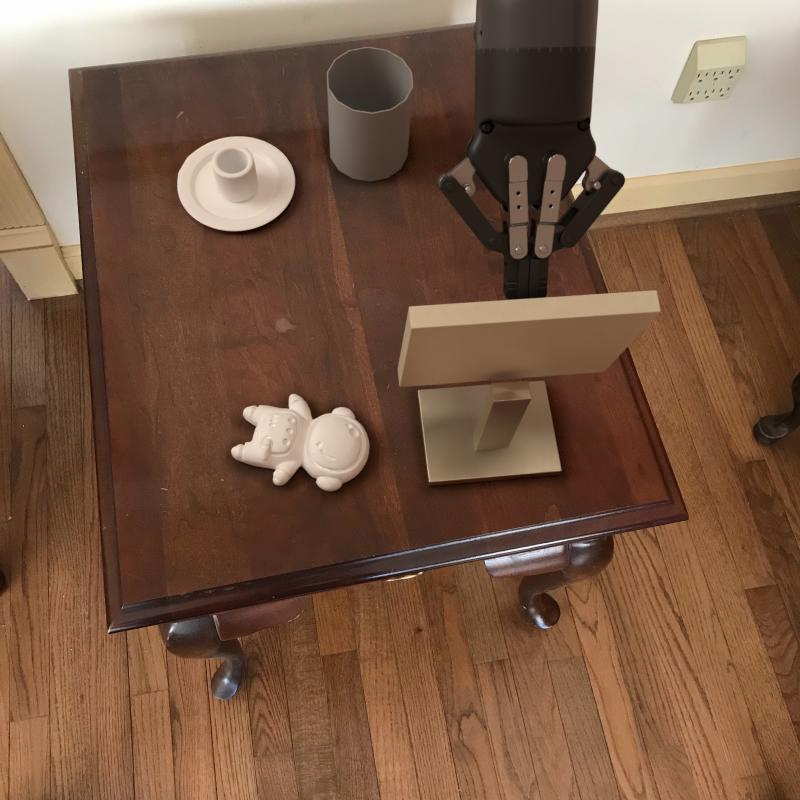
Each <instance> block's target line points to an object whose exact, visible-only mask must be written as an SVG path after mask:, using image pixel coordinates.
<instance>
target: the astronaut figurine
mask: <svg viewBox="0 0 800 800" xmlns="http://www.w3.org/2000/svg"><path fill="white" fill-rule="evenodd" d="M242 416H243V418H244V419H245V421H247V422H248V423H250V424H251V425H253V426H254V427H255V429H254V431H253V434H252V439H251V441H246V442H244V444H243V443H240V444H239V443H238V444H237V445H235V446H233V447H232V448H231V450H230V454H231V456H232V457H233V458H234V459H235V460H236V461H238V462H240V463H241V462H242V463H244V464H247V465H250V466H254V467H258V468H264V469H270V470H271V469H272V470H274V472H273V474H272V477H273V478H272V483H273V484H274V485H275V486H284V485H286V484H287V483H288V482H289V480H291V478H292V477H293V476H294V475H295V474H296V472H297V471H298V469H299V468H300V467H301V468H303V470H304V471H305V472H306V473H307V474H308V475H309V476H310V477H312V478H313V479H315V480H316V481H315V484H316V485H317V486H318V488H320V490H323V491H326V492H335V491H338V490H339V489H340V488H341V487H342V486H343V484H345V483H347V482H350V481H351V480H352V479H354V478H356V477H357V476H358V475H359V474H360V473H361V471H362V470H363V469H364V467H365V466H366V464H367V462H368V459H369V454H370V440H369V437H368V433H367V431H366V429H365V427H364V426H363V425H362V424H361V423H360V422H359V421H358V419H356V416H355V414H354V412H353V411H352V410H351V409H350V408H348V407H343V406H340V407H336V408H334V409H333V410H332V411H331V413H330V412H329V413H324V414H322V415H319V416H318V417H316V418H314V419H313V416H312V411H311V409H310V407H309V405H308V402H307V401H306V400H304V398H303V397H302V396H300V395H298V394H297V393H291V394H290V395H289V397H288V408H283V407H276V406H272V405H265V404H259V405H258V406H257V405H250V406H246V407H244V409H243V411H242Z"/></svg>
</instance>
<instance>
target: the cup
mask: <svg viewBox="0 0 800 800" xmlns="http://www.w3.org/2000/svg"><path fill="white" fill-rule="evenodd" d="M326 86H327V91H326V92H327V112H328V113H327V115H328V135H329V136H328V139H329V157H330V160H331V161H332V163H333V164H334V166H335V167H336V169H337V170H338V171H339V172H341V173H343V174H344V175H346V176H348V177H349V178H350V179H352V180H357V181H364V182H368V183H369V182H370V183H371V182H377V181H380V180H385V179H389V178H390V177H391V176H393V175H394V174H396V173H397V172H398V171H400V170H401V169H402V168H403V165H404V163H405V162H406V160H407V158H408V153H409V142H410V131H411V119H412V106H413V94H414V79H413V71H412V70H411V68H410V67H409V65H408V64H407V62H406V61H405V60H404V59H403V58H402V57H400V56H399V55H397V54H395V53H394V52H392V51H390V50H388V49H385V48H379V47H372V46H363V47H359V48H354V49H349V50H347V51H345V52H344V53H342V54H341V55H338V57H336V58H334V60H333V61H332V62H331V65H330V67H328V70H327V72H326Z"/></svg>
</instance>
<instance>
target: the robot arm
mask: <svg viewBox="0 0 800 800" xmlns="http://www.w3.org/2000/svg"><path fill="white" fill-rule="evenodd" d="M475 2H476V3H475V22H474V24H473V25H474V26H473V40H474V44H475V45H474V46H475V48H474V112H473V115H474V117H473V119H474V120H473V131H472V134H471V137H470V139H469V141H468V142H467V144H466V148H465V158H464V159H462V160H461V161H460V162H459V163H457V164H456V165H455V166H454V167H452V169H450V170H449V171H448V172H447V171H444V172H441V173H439V174H438V175H437V176H436V178H435V185H436V187H437V188H438V189H439V191H440V192H441V194H442V195H443V196H444V197H445V199H446V200H447V201H448V202H449V204H450V205H451V206H452V207H453V209H454V210H455V211H456V212H457V214H458V215H459V216H460V218H461V219H462V220H463V222H464V223H465V224H466V225H467V226H468V229H470V230H471V231H472V233H473V234H474V235H475V236H476V238H477V239H478V241H479V242H480V243H481V244H482V245H483V246H484V247H485V248H486V250H488V251H491V252H497V253H500V254H502V255H503V275H502V276H503V278H502V292H503V295H504V298H505V300H516V299H531V298H546V297H547V295H548V279H549V261H550V258H551V256H552V255H553V253H555V252H556V251H560V250H561V249H562V250H563V249H564V248H565V249H572V248H574V247H575V246H576V245H577V244H578V243H579V242H580V240H581V239H582V238H583V236H584V235H585V234H586V233H587V232H588V230H589V229H590V228H591V227H592V225H593V224H594V223H595V222H596V221H597V219H598V218H599V217H600V216H601V215H602V213H603V212H604V210H606V208H607V207H608V206H609V204H610V203H611V202H612V200H614V198H615V197H616V196H617V194H618V193H619V192H620V191H621V189H622V188H623V187H624V186H625V183H626V177H625V175H624V174H623V173H622V172H621V171H619V170H617V169H614V168H611V167H610V166H609V165H608V164H607V163H606V162H604V161H603V160H602V159H601V158H600V157H599V156H597V155H596V154H597V144H596V141H595V139H594V137H593V134H592V129H591V121H592V109H593V96H594V95H593V94H594V79H595V67H596V66H595V65H596V51H597V50H596V49H597V37H598V36H597V35H598V21H599V19H598V18H599V2H600V1H599V0H476V1H475ZM474 174H476V176H478V178H479V179H480V181H481V182H482V184H483V185H484V187H485V188H486V189H487V191H488V192H489V194H490V195H491V196H492V198H493V199H494V200H496V201H497V202H498V204H499V216H500V219H501V230H498V229H495V228H494V226H493V225H492V224H491V222H490V221H489V219H487V217H486V216H485V215H484V213H483V212H482V211H481V209H480V208H479V207H478V205H477V204H476V203H475V202H474V200H473V199H472V197H473V196H474V195H475V193H476V190H477V186H476V183H475V181H474ZM583 174H584V175H583ZM582 176H583V177H582ZM581 177H582V179H581V187H582V189H583V190H582V191H581V192H579V194H578V196H577V197H576V198H575V199H574V201H573V202H572V203H571V204H570V206H568V208H567V209H566V210H565V212H564V213H563V214H562V216H561V217H560V218H559V214H560V207H561V202H562V201H563V200H564V199H565V198H566V197H567V196H568V195H569V193H570V192H571V190H572V189H573V188H574V187H575V185H576V184H577V183H578V181H579V180H580V178H581Z"/></svg>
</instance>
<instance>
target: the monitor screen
mask: <svg viewBox="0 0 800 800" xmlns="http://www.w3.org/2000/svg"><path fill="white" fill-rule="evenodd" d="M661 311H662V310H661V305H660V300H659V294H658V290H657V289H655V290H653V289H652V290H639V291H625V292H624V291H623V292H608V293H593V294H577V295H564V296H563V295H562V296H548V297H547V296H546V298H531V299H516V300H507V299H504V300H501V299H500V300H489V301H488V300H487V301H471V302H457V303H455V302H454V303H442V304H441V303H440V304H428V305H427V304H426V305H412V306H408V310H407V315H406V319H405V326H404V332H403V338H402V344H401V349H400V353H399V358H398V364H397V376H398V387H400V388H405V387H406V388H407V387H418V386H419V387H421V386H432V385H447V384H448V385H449V384H460V383H475V382H485V381H487V382H488V381H500V380H514V379H526V378H527V379H528V378H540V377H541V378H543V377H555V376H569V375H580V374H582V375H583V374H594V373H596V374H597V373H605V372H606V371H607V370H608V368H610V366H612V364H613V363H614V362H615V361H616V360H617V359H618V358H619V357H620V356H621V355H622V354H623V353H624V351H626V349H627V348H628V347H629V346H630V345H631V344H632V343H633V342H634V341H635V340H636V339H637V338H638V336H639V335H640V334H642V332H644V330H646V328H647V327H648V326H649V325H650V324H651V323H652V321H654V320H655V318H656V317H657V316H658V315H659V314H660V313H661Z"/></svg>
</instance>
